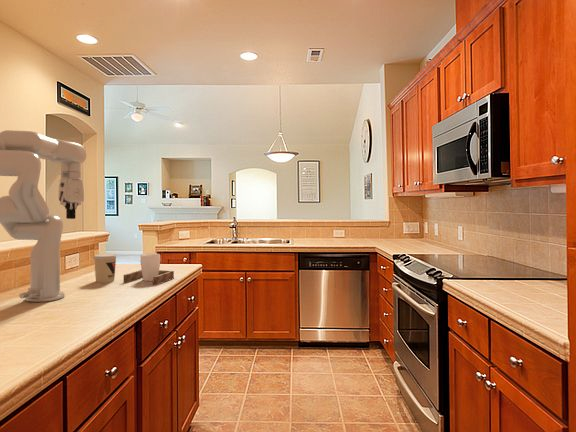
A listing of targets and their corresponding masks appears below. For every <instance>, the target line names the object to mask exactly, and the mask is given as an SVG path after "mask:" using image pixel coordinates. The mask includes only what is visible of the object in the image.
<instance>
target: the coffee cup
mask: <svg viewBox="0 0 576 432" xmlns="http://www.w3.org/2000/svg"><path fill="white" fill-rule="evenodd" d="M93 259H94V274H95V276H94V277H95V282H96V283H97V284H99V283H100V284H101V283H102V284H103V283H104V284H105V283H113V282H115V277H116V275H115V274H116V265H117V264H116V262H117V255H116V254H114V253H102V254H95V255H94V257H93Z"/></svg>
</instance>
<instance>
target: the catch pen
mask: <svg viewBox="0 0 576 432" xmlns="http://www.w3.org/2000/svg"><path fill="white" fill-rule="evenodd" d="M174 273H175V271H174V270H163V269H159V274H158V276H155V277H153V281H152V284H153V286H157V285H159V283H160V284H163V283H164V282H167V280H168V281H170V280H172V278H173V279H174V278H175V277H174V276H175V275H174ZM139 279H143V277H142V269H140V270H136V271H131V272H130V273H126V274H123V283H125V284H126V283H129V282H133V281H135V280H139ZM169 279H170V280H169Z"/></svg>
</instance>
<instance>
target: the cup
mask: <svg viewBox="0 0 576 432" xmlns="http://www.w3.org/2000/svg"><path fill="white" fill-rule="evenodd" d="M139 261H140V266H141V269H140V270H142V281H144V282H153V277H155V276H158V274H159V270H160V266H161V261H162V260H161V254H160V253H154V252H153V253H143V254H140V260H139Z"/></svg>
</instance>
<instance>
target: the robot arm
mask: <svg viewBox="0 0 576 432" xmlns="http://www.w3.org/2000/svg"><path fill="white" fill-rule="evenodd" d="M41 160H45V161H50V162H53V163H56V164H57V163H58V164H60V174H59V175H60V180H59V184H58V201H59V202H60V204H59V205H61V206H63V207H64V209H65V210H66V211H65V212H66V213H65V214H66V216H65V217H66V218H65V219H68V220H74V219H76V210H77V208H78V206H80V205H82V203H83V202H84V200H85V198H84V197H85V194H84V193H85V192H84V184H83V180H82V179H81V177H82V176H81V175H82V173H81V171H82V170H81V169H82V165H81V164H83V163H84V162H85V161H86V160H87V151H86V149H85V147H84V146H83V145H82V144H80V143H77V142H73V141H68V140H64V139H63V140H62V139H59V138H54V137H48V136H47V135H44V134H42V133H39V132H36V131H29V130H12V129H11V130H10V129H9V130H3V131H1V132H0V177H17V178H16V180H15V181H14V182H13V183H12V184H11V186H10V187H9V190H8V195H3V196H1V197H0V224H1V226H2V227H3V229H4V230H5V231H6V232H7V234H8V235H9V236H10V237H11V238H13V239H15V240H20V241H22V240H23V241H36V243H35V245H34V246H33V247H32V248H31V250H30V254H29V255H30V287H29V288H27V291H26V292H21V293H19V296H18V297H19V298H20V299H25V301H27V302H30V303H42V302H52V301H57V300H60V299H63V298H65V292H62V291H61V242H62V240H61V239H62V235H63V228H64V222H63V220H62V219H61V218H60V217H59V216H57V215H53V214H50V211H49V210H50V209H49V207H48V205H47V202H46V201H45V199H44V198H43V195H42V194H41V192H40V190H39V183H40V182H39V181H40V175H41V170H42V161H41Z"/></svg>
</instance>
